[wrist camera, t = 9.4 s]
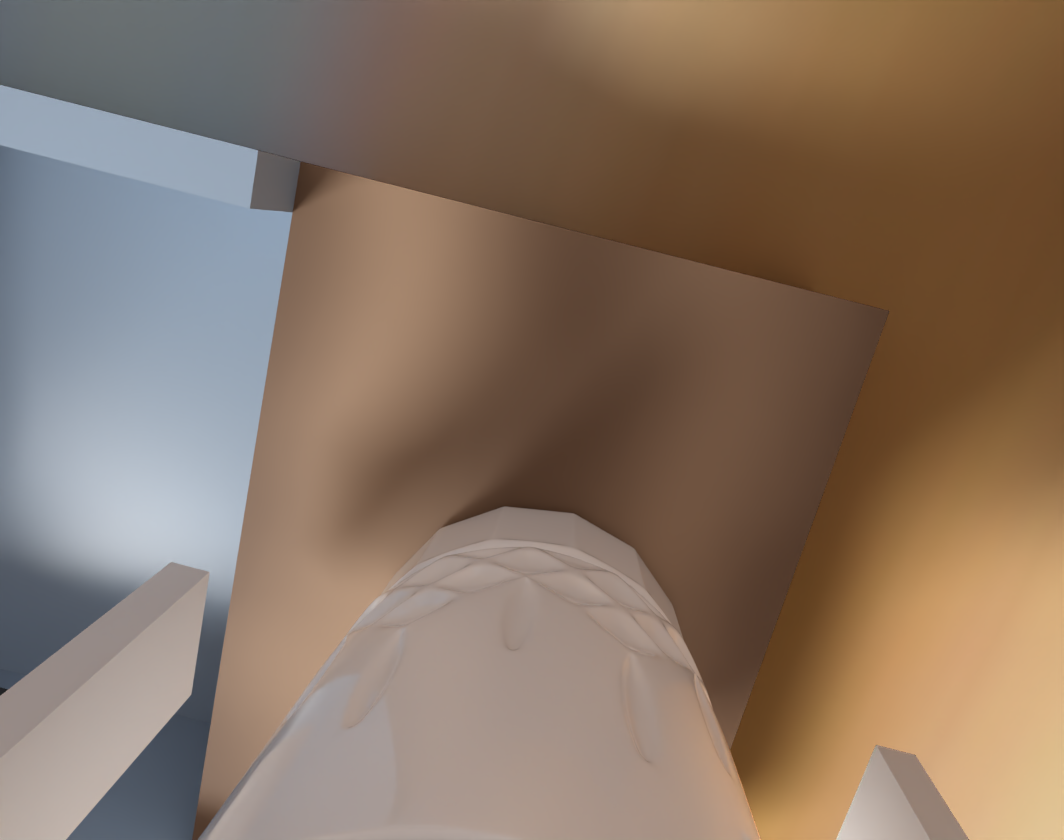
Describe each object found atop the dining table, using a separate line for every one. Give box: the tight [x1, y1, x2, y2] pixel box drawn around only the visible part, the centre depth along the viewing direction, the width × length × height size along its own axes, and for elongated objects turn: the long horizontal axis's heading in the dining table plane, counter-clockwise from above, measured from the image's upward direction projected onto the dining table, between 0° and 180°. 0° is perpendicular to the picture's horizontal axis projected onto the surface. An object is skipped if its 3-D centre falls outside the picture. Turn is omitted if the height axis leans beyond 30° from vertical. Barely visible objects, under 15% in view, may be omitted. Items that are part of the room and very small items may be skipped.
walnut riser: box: [192, 162, 889, 840], centre depth 20 cm, size 12×18×5 cm, turn 166°
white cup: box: [198, 506, 761, 840], centre depth 12 cm, size 8×8×10 cm
